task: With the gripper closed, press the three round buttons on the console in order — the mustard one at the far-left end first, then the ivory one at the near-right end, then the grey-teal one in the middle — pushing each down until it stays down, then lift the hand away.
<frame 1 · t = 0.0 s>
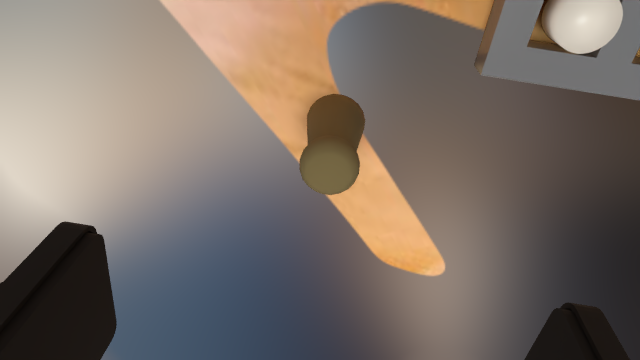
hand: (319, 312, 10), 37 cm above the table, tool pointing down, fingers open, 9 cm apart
ivory button: (579, 18, 37), point 4 cm above the table, slide at 0.0 cm
cork: (335, 121, 47), on the table
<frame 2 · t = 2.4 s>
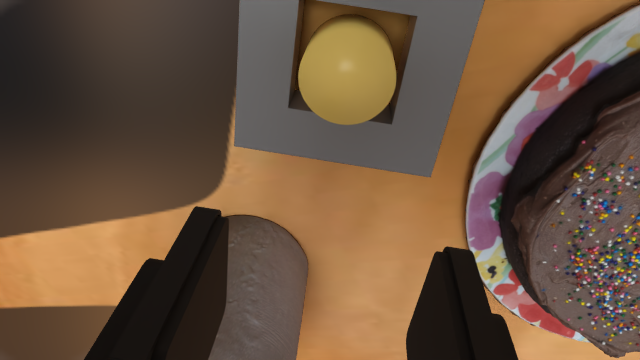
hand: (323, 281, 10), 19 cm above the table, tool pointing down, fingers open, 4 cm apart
pillar candle: (251, 261, 37), on the table
mustard button: (348, 69, 24), point 4 cm above the table, slide at 0.0 cm
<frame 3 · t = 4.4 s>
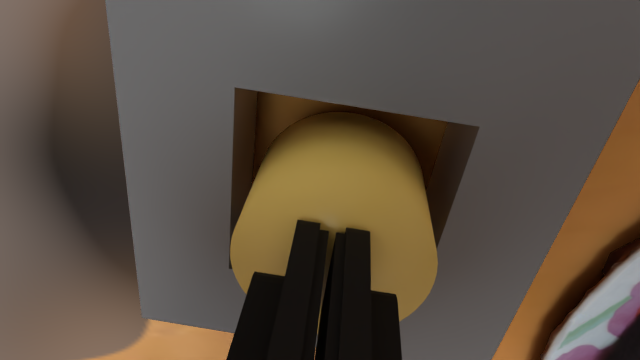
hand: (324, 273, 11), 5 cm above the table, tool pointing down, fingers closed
mustard button: (336, 222, 12), point 4 cm above the table, slide at 0.0 cm, touching gripper
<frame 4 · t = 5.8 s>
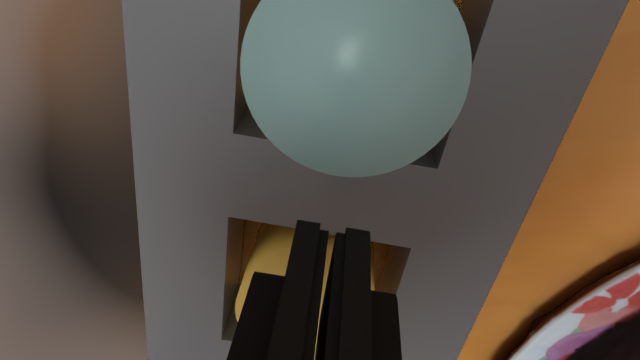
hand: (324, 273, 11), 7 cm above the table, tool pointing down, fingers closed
teal button: (354, 55, 11), point 4 cm above the table, slide at 0.0 cm
console: (356, 22, 14), on the table
mustard button: (309, 282, 17), point 2 cm above the table, slide at -1.5 cm
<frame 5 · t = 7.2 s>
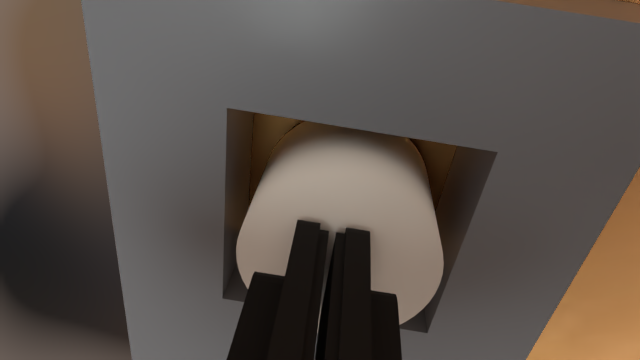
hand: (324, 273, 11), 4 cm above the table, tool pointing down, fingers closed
console: (311, 357, 19), on the table
ivory button: (341, 222, 12), point 2 cm above the table, slide at -1.3 cm, touching gripper
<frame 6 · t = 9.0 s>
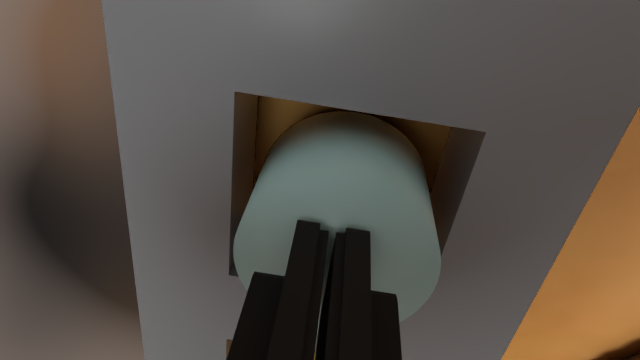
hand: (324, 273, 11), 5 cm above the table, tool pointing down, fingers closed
teal button: (339, 221, 12), point 3 cm above the table, slide at -0.3 cm, touching gripper
console: (345, 159, 15), on the table
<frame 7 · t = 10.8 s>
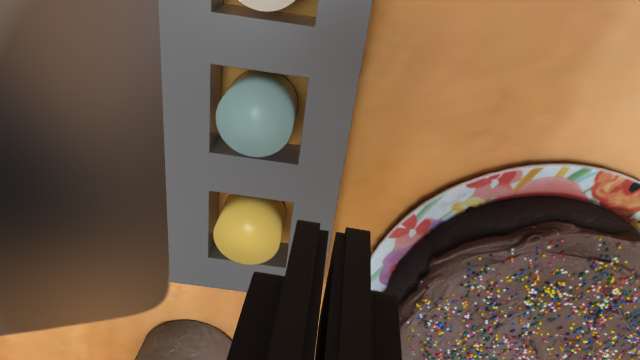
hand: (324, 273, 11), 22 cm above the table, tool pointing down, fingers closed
pillar candle: (195, 352, 45), on the table
teal button: (258, 112, 30), point 2 cm above the table, slide at -1.5 cm
console: (264, 101, 32), on the table
chocolate cake: (513, 297, 40), on the table
mustard button: (251, 224, 34), point 2 cm above the table, slide at -1.5 cm
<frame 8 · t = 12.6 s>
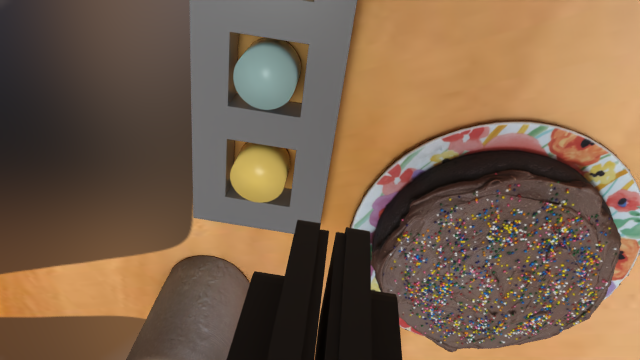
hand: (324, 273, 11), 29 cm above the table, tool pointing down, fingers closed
pillar candle: (212, 285, 53), on the table
teal button: (268, 73, 36), point 2 cm above the table, slide at -1.5 cm
console: (273, 64, 38), on the table
chocolate cake: (486, 241, 46), on the table
mustard button: (261, 169, 41), point 2 cm above the table, slide at -1.5 cm
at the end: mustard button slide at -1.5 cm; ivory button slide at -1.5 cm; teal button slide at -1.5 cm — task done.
